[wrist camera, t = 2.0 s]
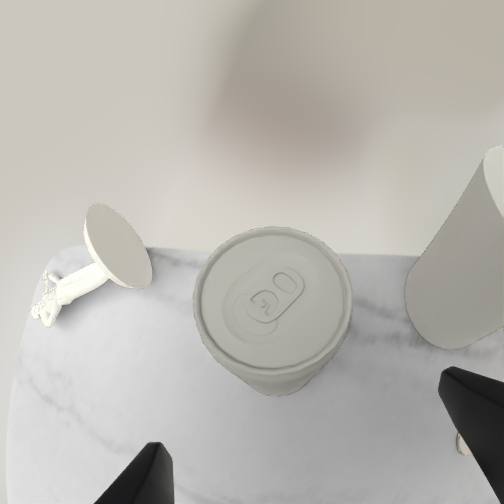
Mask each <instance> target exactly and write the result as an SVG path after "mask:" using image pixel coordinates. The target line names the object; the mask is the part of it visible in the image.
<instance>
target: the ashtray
mask: <svg viewBox="0 0 504 504" xmlns="http://www.w3.org/2000/svg"><path fill="white" fill-rule="evenodd" d="M457 448H458V451H459V452H460V453H461V454H462V455H465V456H469V455H473V454H472V453H471V451H470V450H469V448H468V446H467V445H466V443H465V442H464V440H463V438H462V437H461V435H460V434H459V433H458V436H457Z"/></svg>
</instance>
